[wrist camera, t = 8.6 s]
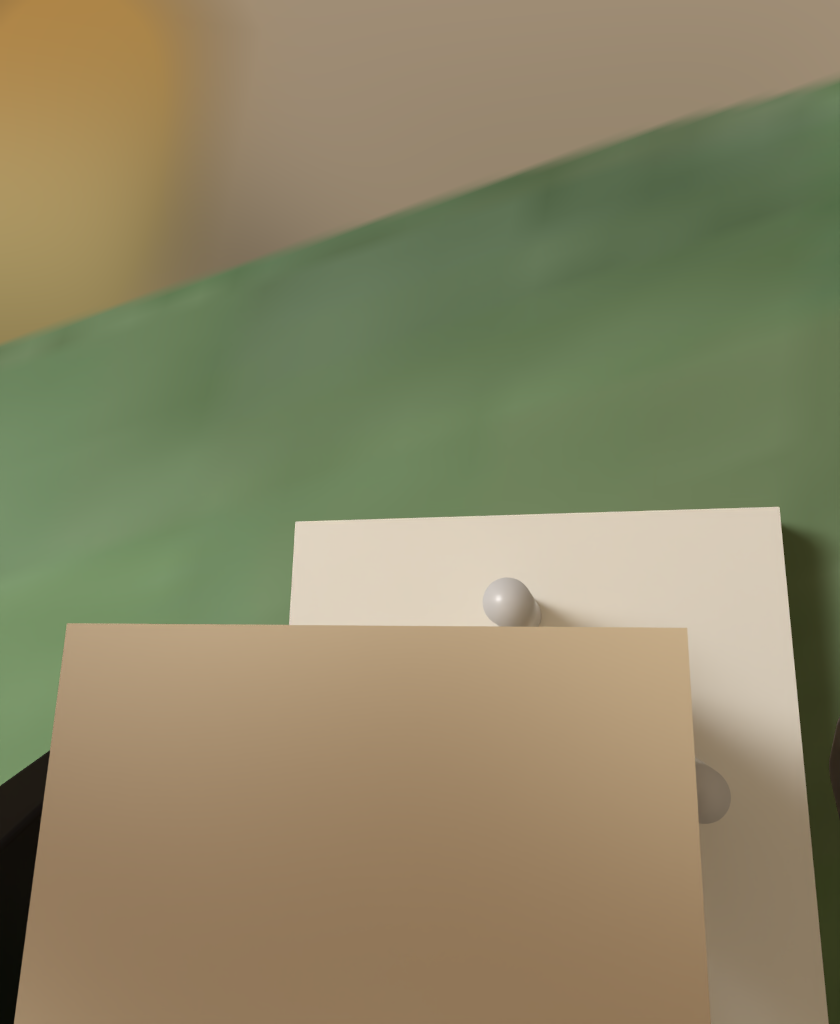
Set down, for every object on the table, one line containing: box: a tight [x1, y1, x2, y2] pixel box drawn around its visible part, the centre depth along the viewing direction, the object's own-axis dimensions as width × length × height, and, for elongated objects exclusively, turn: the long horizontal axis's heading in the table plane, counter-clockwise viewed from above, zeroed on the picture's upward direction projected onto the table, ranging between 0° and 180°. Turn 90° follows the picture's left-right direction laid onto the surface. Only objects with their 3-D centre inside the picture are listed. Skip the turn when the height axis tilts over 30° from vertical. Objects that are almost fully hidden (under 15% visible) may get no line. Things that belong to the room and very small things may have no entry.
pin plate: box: [289, 507, 829, 1024], centre depth 16 cm, size 12×12×4 cm
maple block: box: [14, 623, 711, 1024], centre depth 11 cm, size 4×4×13 cm
